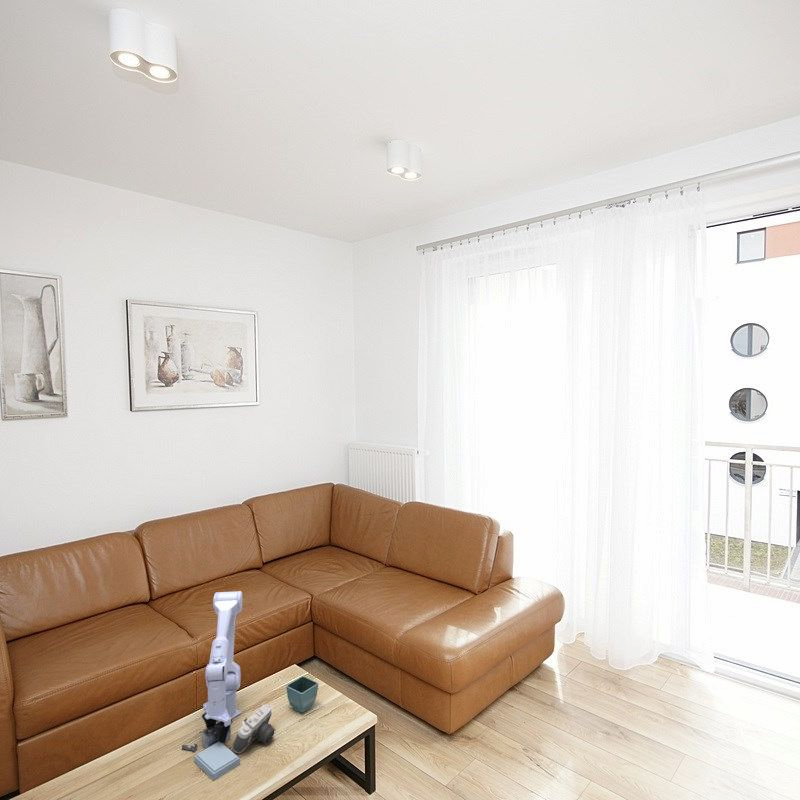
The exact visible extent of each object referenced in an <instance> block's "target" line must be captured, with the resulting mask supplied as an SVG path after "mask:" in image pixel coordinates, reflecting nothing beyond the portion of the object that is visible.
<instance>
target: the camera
mask: <svg viewBox="0 0 800 800" xmlns="http://www.w3.org/2000/svg"><path fill="white" fill-rule="evenodd" d="M273 713H274V707H273V706H272V705H271V704H268V703H267V704H265V703H264V704H262V705H261V706H260V708H258V709H257V710H256V711H255V712H254V713H253V714H252V715H250V717H249V718H248V717H246V718H245V719H244V720H243V721H242V723H241V725H242V726H241V727H239V728H238V731H237V734H236V737H235V740H234V741H233V744H232V747H231V748H232V749H231V750H232V752H233V753H234V754H241V753H242V752H243V751H244V750H245V749H247V748H248V746H249V745H250V744H252V743H253V741H254V740H255V739H257V740H258V741H259V742H262V743H263V745H265V744H268V743H269V742H270V741H271V740H272V739H273V736H274V735H275V731H276V730H275V728H273V726H272V724H270V723H269V722H270V719H271V717H272V714H273Z"/></svg>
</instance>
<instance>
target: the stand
mask: <svg viewBox="0 0 800 800" xmlns="http://www.w3.org/2000/svg"><path fill="white" fill-rule="evenodd" d="M236 754H237V753H235V752H234V751H233V750H232V749H230V748H228V747H227V746H226V745H225V743H224V744H223V743H221V742H220V743H219V742H217V743H215V744H214V745H212V746H210V747H208V748H207V749H205V748H204V749H203V750H201V751H200V752H198V753H196V754H195V755H193V756H194V757H193V762H194V763H195V764H196V765H197V766H198V767H199V768H200V769H201V770H202V771H203V772H204V773H205V774H206V775H207V776H208V777H209V778H210V779H211V780H212V781H216V780H217V779H219V778H221V777H222V776H223V775H225V774H227V773H228V772H230V771H231V770H234V769H235V768H237V767H238V766H240V765H241V762H240V761H241V760H240V759H241V758H240V757H239V756H238V755H236Z"/></svg>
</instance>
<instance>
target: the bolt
mask: <svg viewBox="0 0 800 800" xmlns="http://www.w3.org/2000/svg"><path fill="white" fill-rule="evenodd" d="M181 750H186V751H192V752H196V751H197V750H198V744H197V743H193V745H188V744H182V745H181Z"/></svg>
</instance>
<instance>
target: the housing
mask: <svg viewBox="0 0 800 800" xmlns="http://www.w3.org/2000/svg"><path fill="white" fill-rule="evenodd" d="M218 723H220V722H219V721H218V722H216V724H218ZM216 724H215V725H216ZM231 726H232V725H231ZM231 726H230V728H229V730H228V734H227V738H226V741H225V742H224V743H223V744H224V745H225V743H227V742H230V741H231V735H232V733H231V731H232V730H231ZM217 742H218V734H217V730H216V728H215V727H214V725H213V726H211V727H209V728H207V727H206V729H204V730H202V731H201V747H202V748H204V750H205V749H207V748H208V747H210V746H212V745H214V744H215V743H217Z"/></svg>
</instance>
